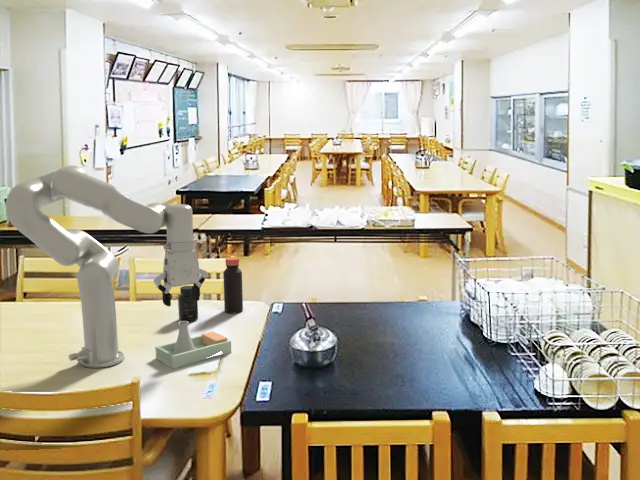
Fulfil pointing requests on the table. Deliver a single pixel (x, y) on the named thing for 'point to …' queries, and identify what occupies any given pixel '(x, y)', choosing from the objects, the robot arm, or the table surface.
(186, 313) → the supplement bottle
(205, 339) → the block
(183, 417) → the table surface
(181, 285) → the robot arm
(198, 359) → the pale green shallow box
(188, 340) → the flask
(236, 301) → the vinegar
